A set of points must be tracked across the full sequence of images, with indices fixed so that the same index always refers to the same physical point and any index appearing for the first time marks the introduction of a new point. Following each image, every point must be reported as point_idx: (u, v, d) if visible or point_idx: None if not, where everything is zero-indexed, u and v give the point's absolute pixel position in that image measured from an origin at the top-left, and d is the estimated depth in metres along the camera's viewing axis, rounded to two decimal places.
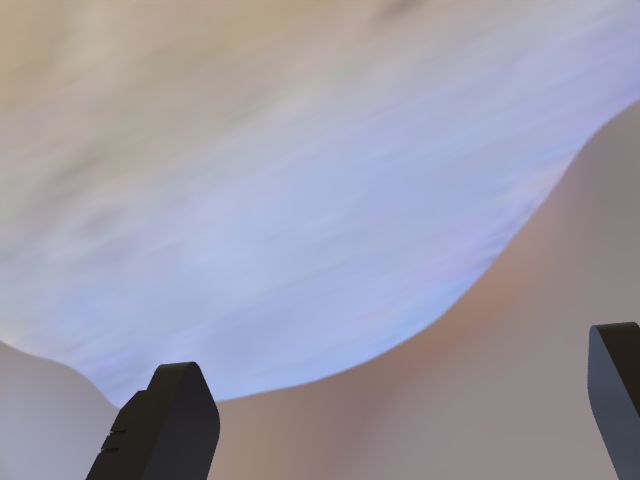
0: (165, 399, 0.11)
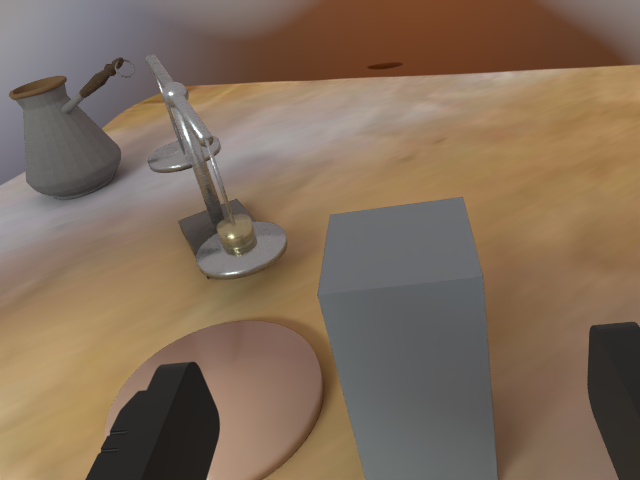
0: (165, 399, 0.11)
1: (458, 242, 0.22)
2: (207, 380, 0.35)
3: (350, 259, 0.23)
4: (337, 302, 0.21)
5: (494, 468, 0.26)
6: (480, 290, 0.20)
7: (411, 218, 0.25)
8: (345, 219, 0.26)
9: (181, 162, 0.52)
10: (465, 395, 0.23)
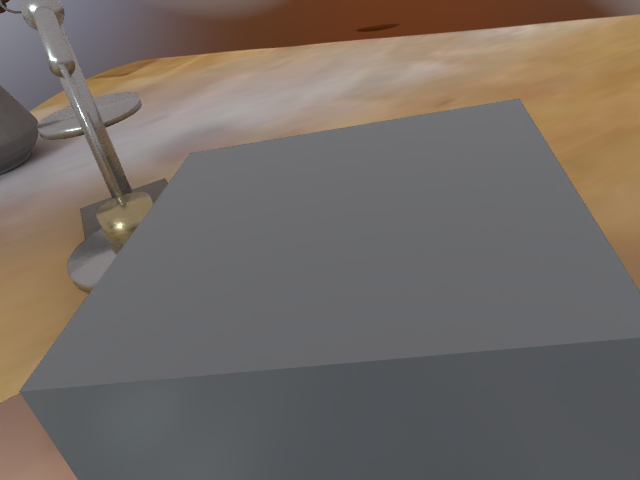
0: None
1: (528, 204, 0.07)
2: (32, 479, 0.19)
3: (187, 260, 0.07)
4: (95, 417, 0.06)
5: None
6: None
7: (383, 150, 0.09)
8: (220, 161, 0.10)
9: (78, 124, 0.37)
10: None
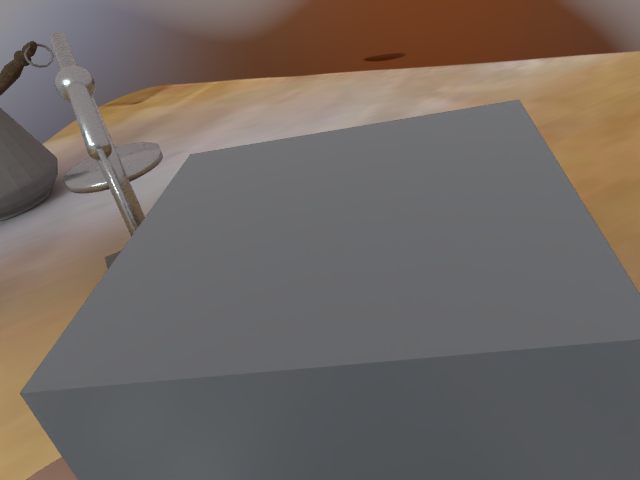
0: None
1: (528, 206, 0.07)
2: None
3: (188, 261, 0.07)
4: (96, 419, 0.06)
5: None
6: None
7: (383, 151, 0.09)
8: (220, 162, 0.10)
9: (103, 178, 0.38)
10: None
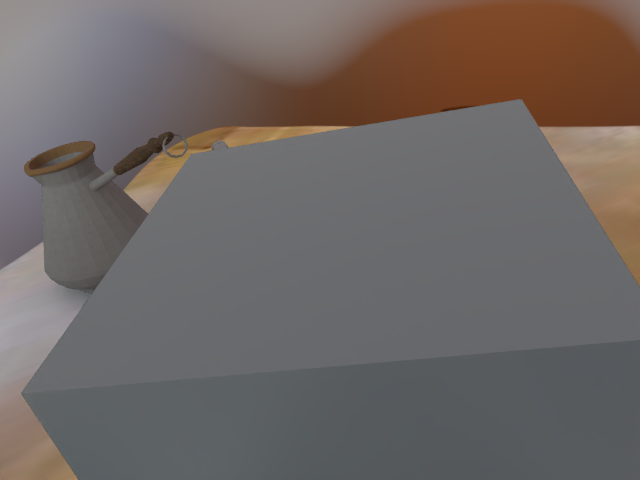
0: None
1: (531, 206, 0.07)
2: None
3: (189, 261, 0.07)
4: (98, 420, 0.06)
5: None
6: None
7: (385, 151, 0.09)
8: (221, 162, 0.10)
9: None
10: None
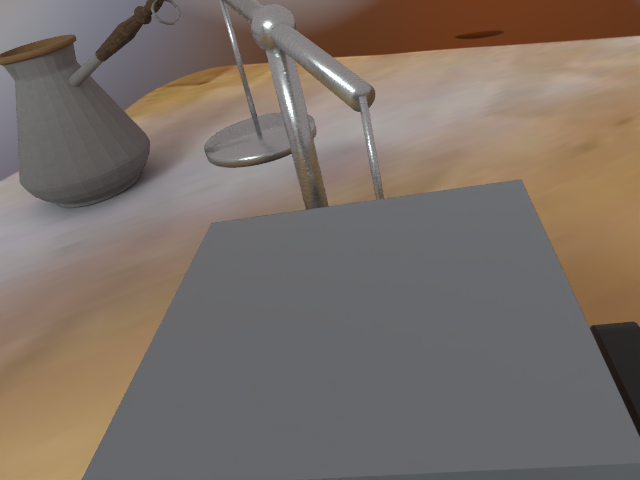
0: None
1: (530, 307, 0.07)
2: None
3: (218, 351, 0.08)
4: None
5: None
6: None
7: (395, 233, 0.10)
8: (241, 235, 0.11)
9: (261, 150, 0.33)
10: None
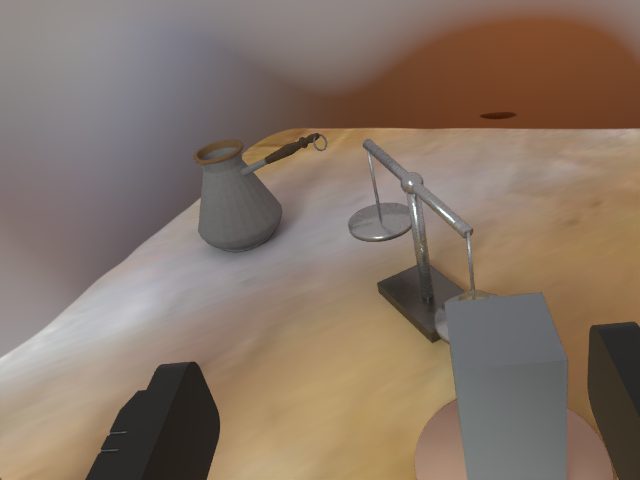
0: (165, 399, 0.11)
1: (545, 331, 0.33)
2: None
3: (470, 341, 0.33)
4: (466, 374, 0.32)
5: None
6: (565, 368, 0.31)
7: (507, 309, 0.35)
8: (457, 307, 0.36)
9: (387, 232, 0.58)
10: (548, 434, 0.34)
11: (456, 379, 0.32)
